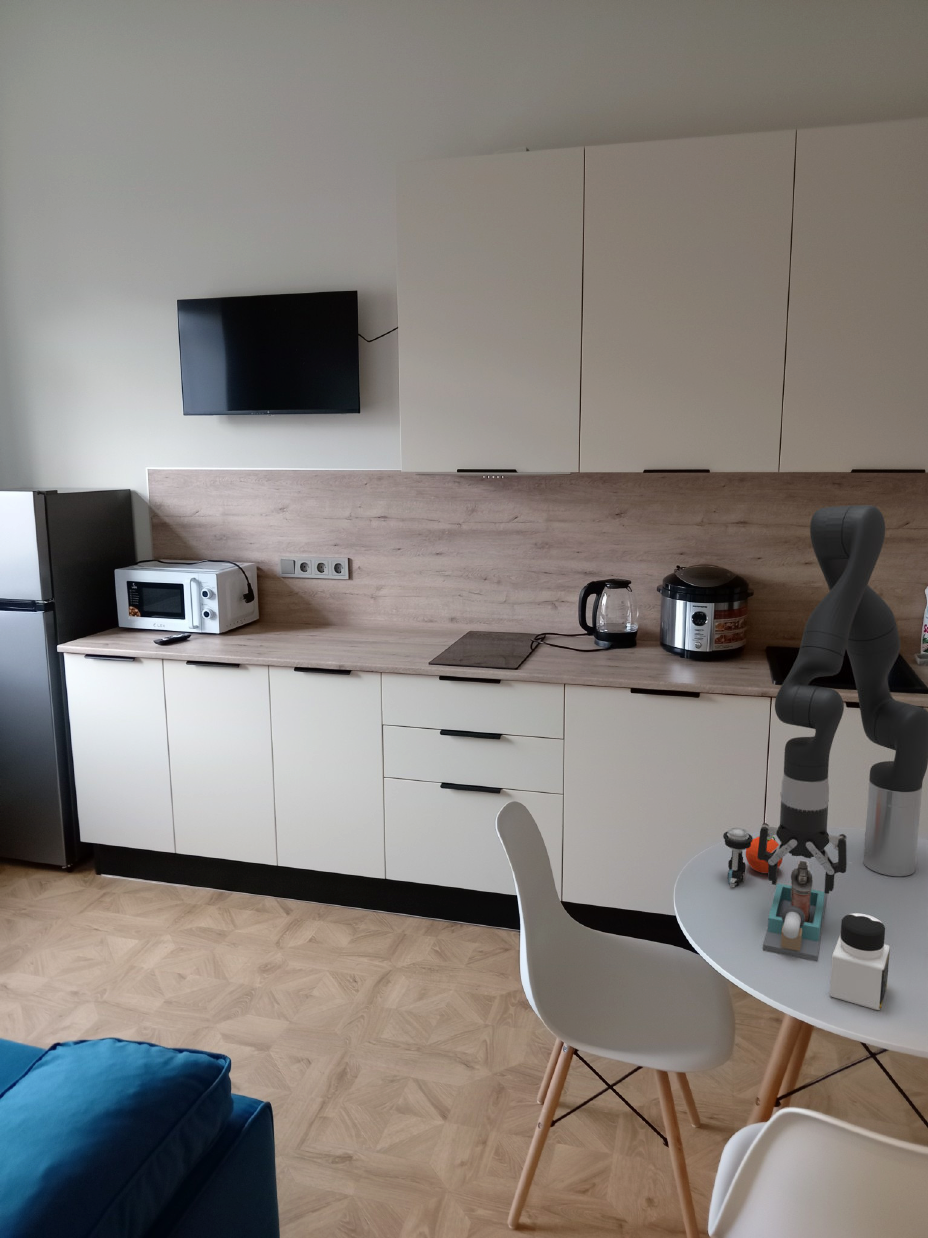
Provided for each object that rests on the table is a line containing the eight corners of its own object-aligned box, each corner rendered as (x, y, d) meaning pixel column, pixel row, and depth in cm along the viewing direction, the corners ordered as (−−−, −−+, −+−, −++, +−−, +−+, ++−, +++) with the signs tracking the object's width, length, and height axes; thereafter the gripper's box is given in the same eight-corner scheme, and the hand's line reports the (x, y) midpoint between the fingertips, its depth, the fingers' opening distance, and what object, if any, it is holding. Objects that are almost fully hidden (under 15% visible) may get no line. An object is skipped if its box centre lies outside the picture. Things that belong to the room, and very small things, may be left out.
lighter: (790, 906, 160) (792, 854, 158) (810, 909, 159) (813, 857, 157) (788, 929, 153) (791, 875, 151) (810, 933, 152) (813, 878, 150)
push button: (745, 892, 167) (747, 843, 165) (716, 886, 170) (718, 837, 168) (753, 877, 173) (755, 829, 171) (725, 871, 176) (727, 823, 174)
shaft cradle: (778, 886, 169) (780, 853, 168) (826, 895, 166) (829, 861, 164) (761, 954, 148) (763, 916, 146) (816, 965, 144) (819, 927, 143)
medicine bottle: (880, 1012, 132) (886, 938, 130) (829, 997, 136) (833, 925, 134) (887, 987, 138) (892, 915, 136) (837, 973, 142) (842, 903, 140)
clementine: (757, 857, 181) (759, 824, 179) (790, 868, 176) (792, 834, 175) (738, 871, 175) (739, 838, 174) (772, 883, 171) (773, 848, 169)
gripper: (850, 797, 152) (845, 884, 156) (763, 785, 158) (759, 870, 162) (849, 814, 146) (843, 905, 149) (757, 802, 152) (754, 890, 155)
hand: (800, 887), depth 155 cm, fingers open, 8 cm apart
